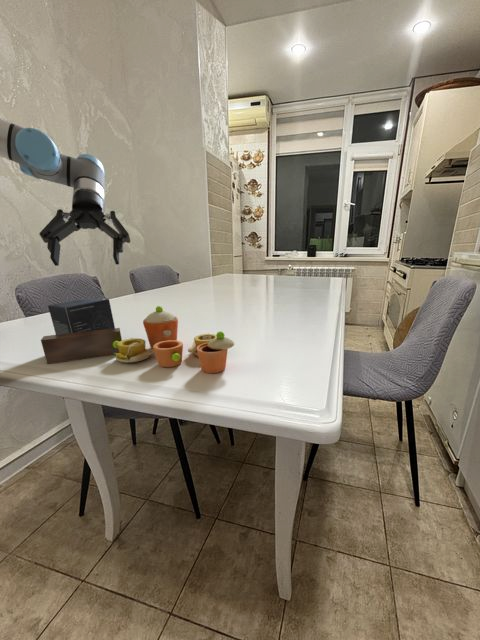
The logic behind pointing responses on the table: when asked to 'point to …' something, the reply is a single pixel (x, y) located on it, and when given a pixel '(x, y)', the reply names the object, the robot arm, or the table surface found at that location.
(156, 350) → the toy tea set
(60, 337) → the block
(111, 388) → the table surface
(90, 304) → the box
